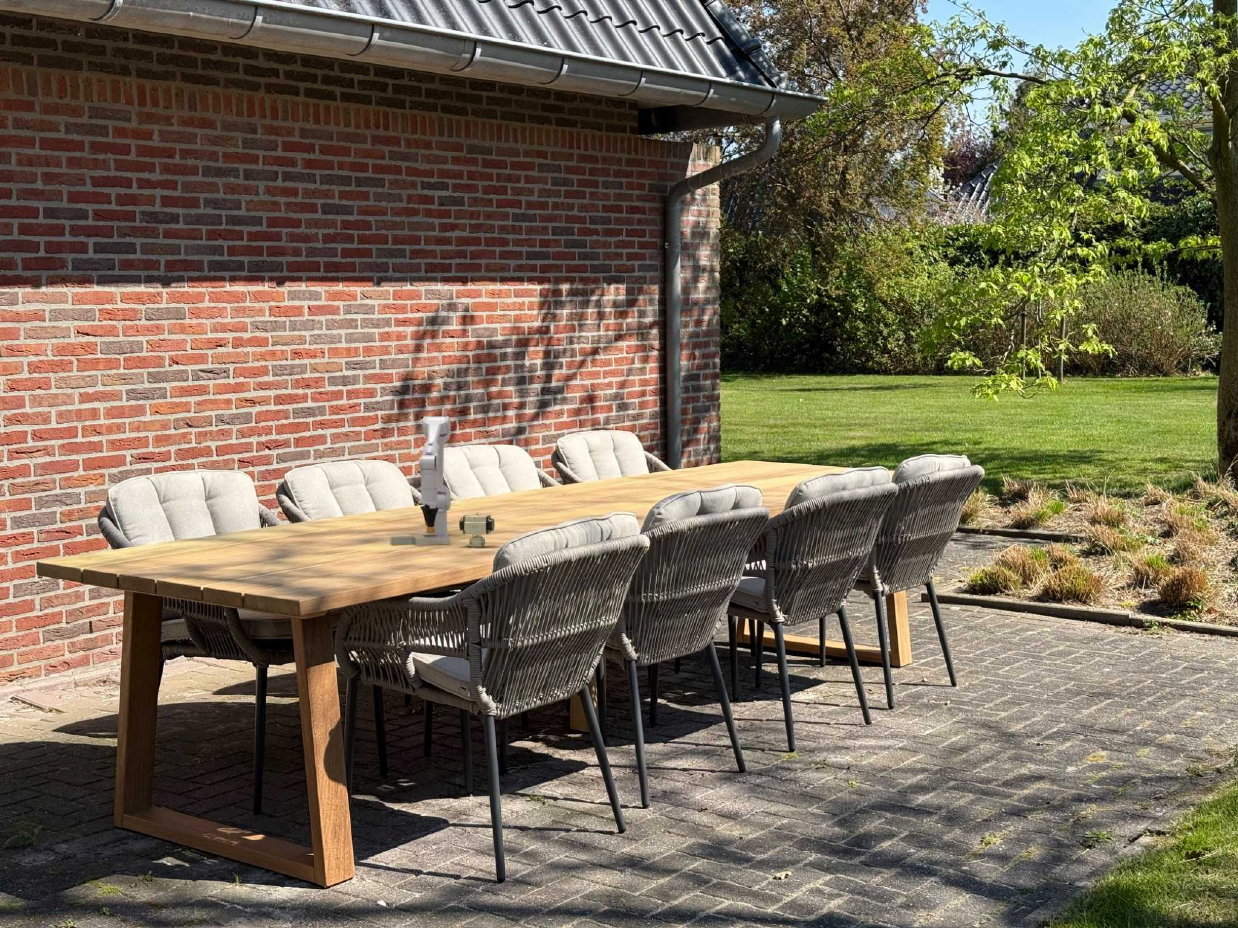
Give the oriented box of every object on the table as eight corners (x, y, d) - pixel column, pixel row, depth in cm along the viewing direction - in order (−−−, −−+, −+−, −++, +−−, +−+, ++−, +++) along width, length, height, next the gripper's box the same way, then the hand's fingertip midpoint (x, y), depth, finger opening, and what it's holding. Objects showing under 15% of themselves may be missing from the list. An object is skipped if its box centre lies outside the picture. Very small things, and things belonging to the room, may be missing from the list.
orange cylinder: (425, 532, 533) (425, 512, 533) (433, 531, 534) (433, 512, 534) (427, 533, 531) (427, 513, 530) (435, 532, 532) (435, 513, 531)
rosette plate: (388, 542, 534) (388, 535, 534) (443, 539, 540) (443, 532, 540) (393, 546, 523) (393, 539, 523) (449, 544, 529) (449, 537, 529)
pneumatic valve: (462, 545, 526) (462, 511, 525) (495, 545, 525) (494, 512, 523) (458, 547, 521) (458, 513, 520) (491, 548, 519) (491, 513, 518)
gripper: (414, 486, 537) (415, 524, 538) (421, 490, 523) (422, 529, 524) (434, 486, 539) (434, 523, 540) (441, 490, 525) (441, 528, 526)
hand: (429, 526), depth 532 cm, fingers closed on orange cylinder, 3 cm apart
